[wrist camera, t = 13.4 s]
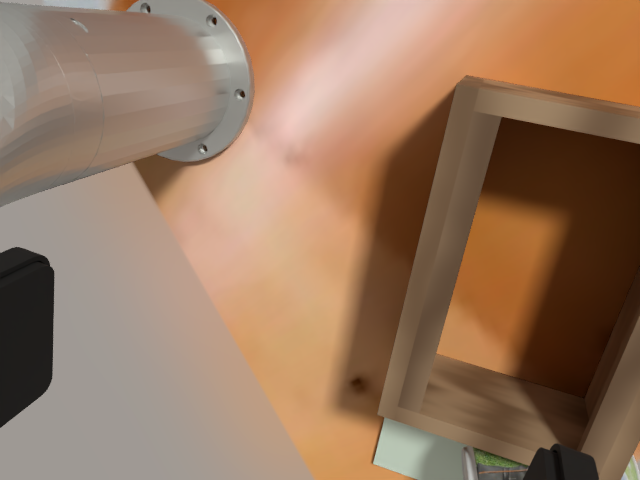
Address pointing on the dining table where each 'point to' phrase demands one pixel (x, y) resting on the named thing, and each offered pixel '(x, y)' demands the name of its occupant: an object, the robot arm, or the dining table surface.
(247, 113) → the robot arm
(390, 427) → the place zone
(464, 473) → the beverage can
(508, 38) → the dining table surface
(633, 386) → the box
